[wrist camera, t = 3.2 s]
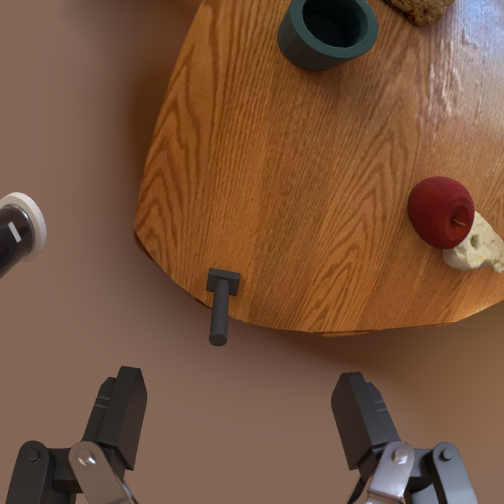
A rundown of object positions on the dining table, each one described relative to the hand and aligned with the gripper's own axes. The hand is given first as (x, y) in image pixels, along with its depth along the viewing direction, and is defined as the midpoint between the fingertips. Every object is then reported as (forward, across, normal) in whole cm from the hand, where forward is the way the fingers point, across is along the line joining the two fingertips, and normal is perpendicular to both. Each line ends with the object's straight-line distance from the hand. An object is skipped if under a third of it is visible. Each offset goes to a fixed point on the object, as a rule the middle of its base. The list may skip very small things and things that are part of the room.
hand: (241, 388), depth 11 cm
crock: (+29, -8, -21) cm, 37 cm away
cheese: (+29, -40, +1) cm, 49 cm away
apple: (+29, -27, -2) cm, 40 cm away
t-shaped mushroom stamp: (+30, +1, +13) cm, 33 cm away
